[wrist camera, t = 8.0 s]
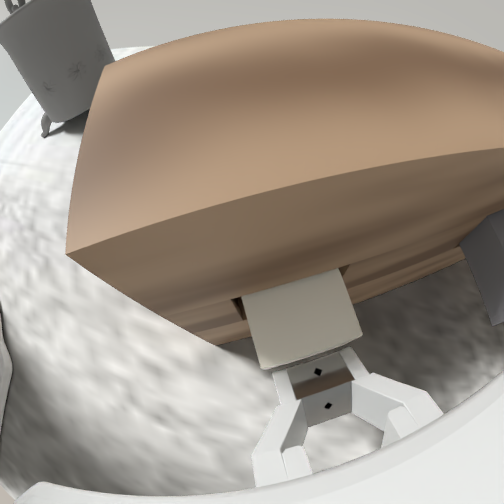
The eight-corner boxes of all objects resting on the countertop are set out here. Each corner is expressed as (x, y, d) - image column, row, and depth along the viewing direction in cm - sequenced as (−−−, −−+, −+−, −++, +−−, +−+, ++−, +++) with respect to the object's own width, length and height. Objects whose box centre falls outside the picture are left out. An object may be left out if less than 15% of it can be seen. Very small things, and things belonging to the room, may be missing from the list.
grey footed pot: (164, 78, 31) (116, -80, 8) (83, 154, 26) (-17, -21, 4) (91, 75, 36) (44, -33, 13) (30, 133, 31) (-39, 24, 9)
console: (531, 223, 18) (603, 142, 6) (215, 345, 17) (65, 254, 4) (495, 163, 22) (548, 74, 9) (191, 236, 20) (104, 66, 8)
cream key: (343, 344, 11) (363, 335, 9) (264, 370, 11) (260, 368, 9) (303, 235, 14) (309, 199, 11) (233, 254, 14) (222, 222, 11)
